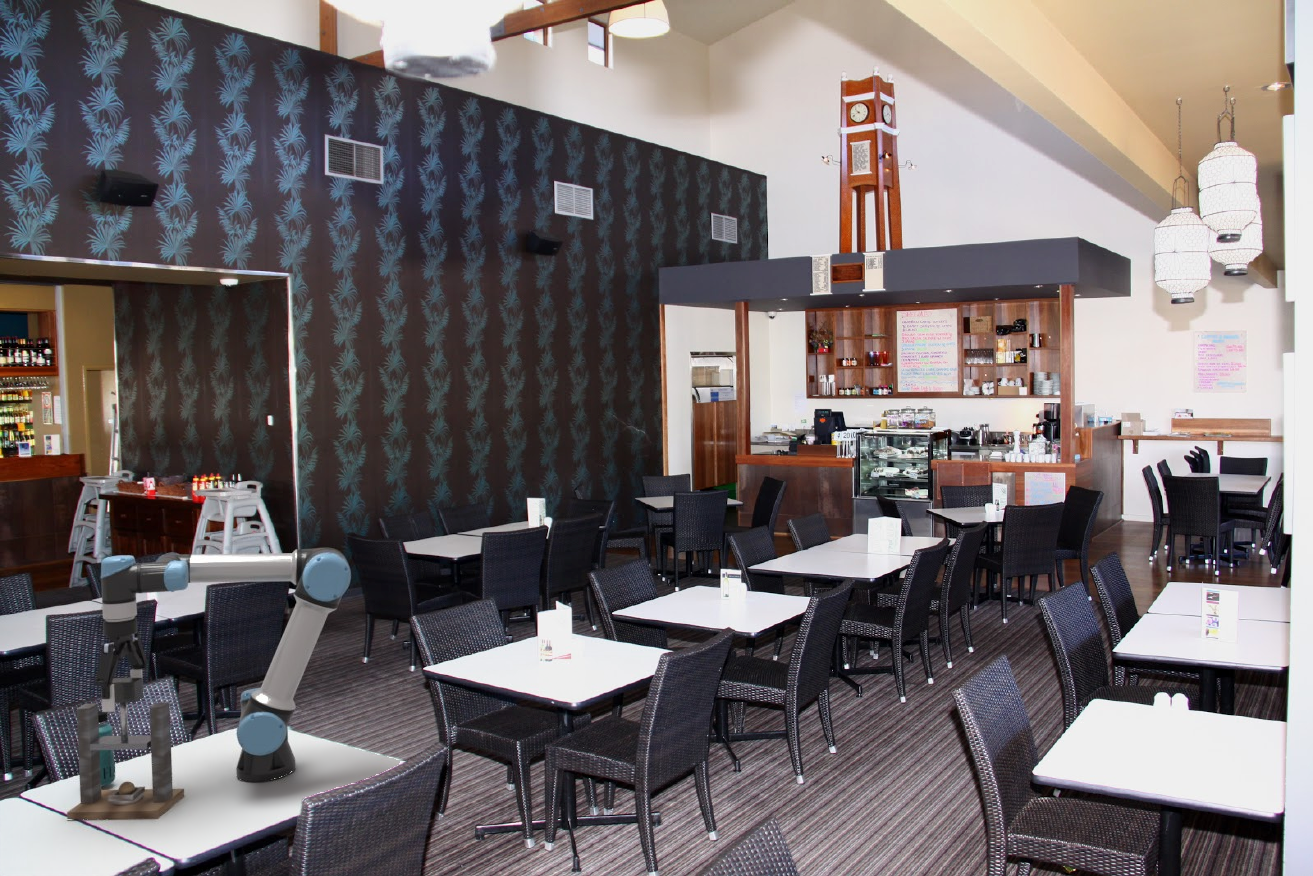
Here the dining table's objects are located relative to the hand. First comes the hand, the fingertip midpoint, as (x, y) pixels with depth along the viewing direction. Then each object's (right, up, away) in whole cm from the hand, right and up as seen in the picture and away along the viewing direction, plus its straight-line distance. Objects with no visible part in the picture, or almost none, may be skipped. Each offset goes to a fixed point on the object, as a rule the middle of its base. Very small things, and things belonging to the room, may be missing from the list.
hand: (123, 703), depth 253 cm
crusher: (0, -11, 0) cm, 11 cm away
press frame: (0, -27, +1) cm, 27 cm away
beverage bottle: (-14, -26, +15) cm, 33 cm away
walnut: (0, -22, +1) cm, 22 cm away
